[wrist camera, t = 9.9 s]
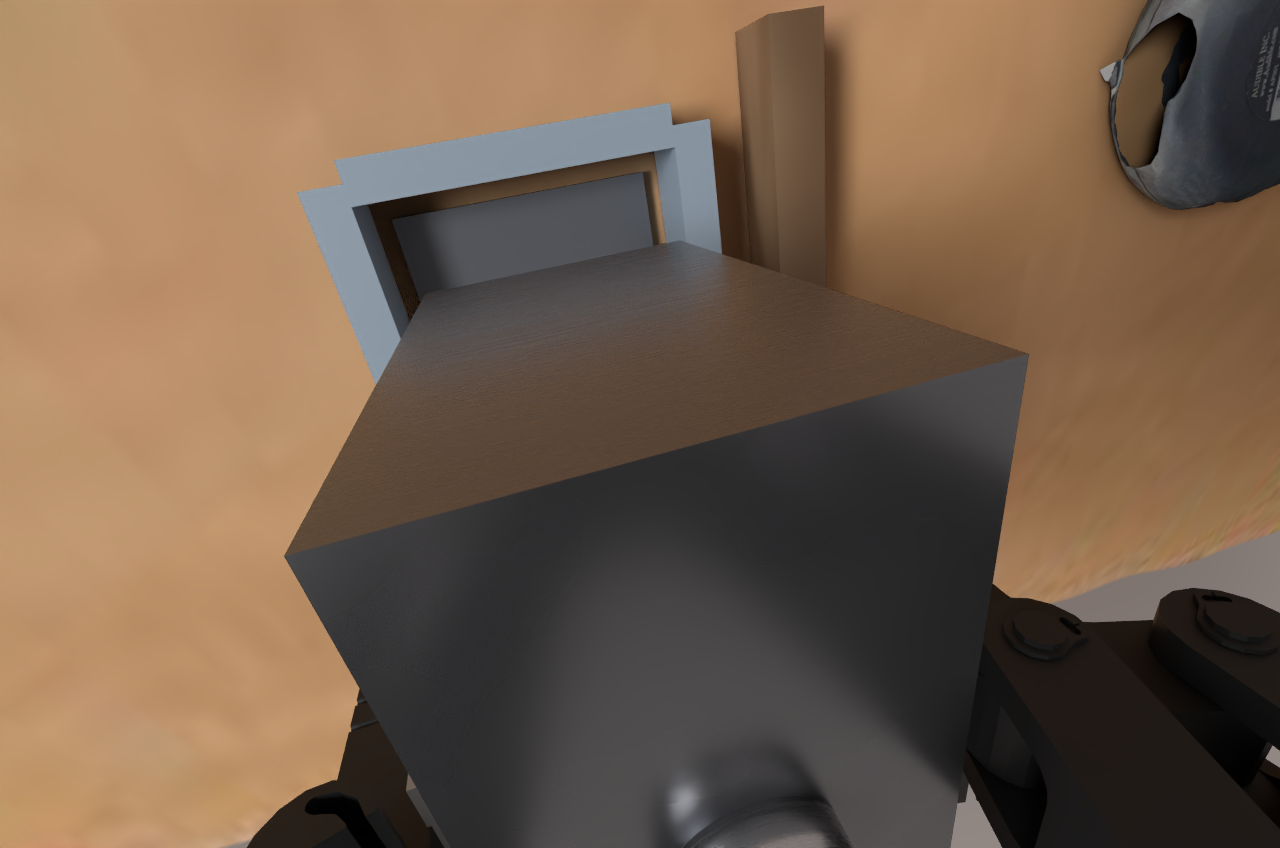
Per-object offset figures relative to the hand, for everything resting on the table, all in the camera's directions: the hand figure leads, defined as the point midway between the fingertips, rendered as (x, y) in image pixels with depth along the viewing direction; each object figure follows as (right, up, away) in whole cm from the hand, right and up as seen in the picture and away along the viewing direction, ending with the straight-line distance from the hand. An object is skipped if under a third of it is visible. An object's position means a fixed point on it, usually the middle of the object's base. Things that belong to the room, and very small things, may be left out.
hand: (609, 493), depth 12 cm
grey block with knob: (0, 0, 0) cm, 0 cm away
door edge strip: (+5, +6, +6) cm, 10 cm away
